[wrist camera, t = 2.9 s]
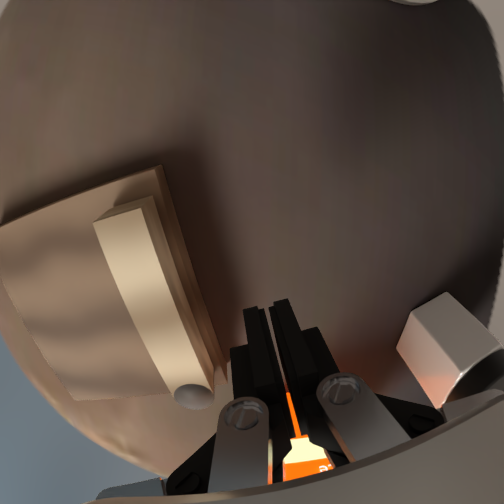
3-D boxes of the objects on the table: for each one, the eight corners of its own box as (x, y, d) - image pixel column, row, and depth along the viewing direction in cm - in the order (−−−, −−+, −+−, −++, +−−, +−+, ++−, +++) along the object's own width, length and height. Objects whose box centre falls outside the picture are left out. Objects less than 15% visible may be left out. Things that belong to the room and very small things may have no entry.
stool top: (-1, 225, 20) (-17, 235, 18) (161, 164, 20) (154, 169, 18) (81, 383, 27) (75, 400, 25) (226, 364, 27) (227, 383, 25)
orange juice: (333, 426, 33) (380, 566, 15) (262, 434, 32) (287, 588, 14) (347, 384, 30) (416, 548, 12) (265, 393, 29) (300, 582, 11)
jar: (440, 356, 31) (492, 426, 20) (386, 363, 30) (436, 449, 19) (470, 290, 27) (541, 355, 16) (416, 290, 26) (492, 371, 15)
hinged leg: (218, 379, 24) (219, 406, 22) (184, 385, 24) (182, 411, 22) (152, 195, 18) (140, 208, 16) (109, 208, 18) (92, 222, 16)
